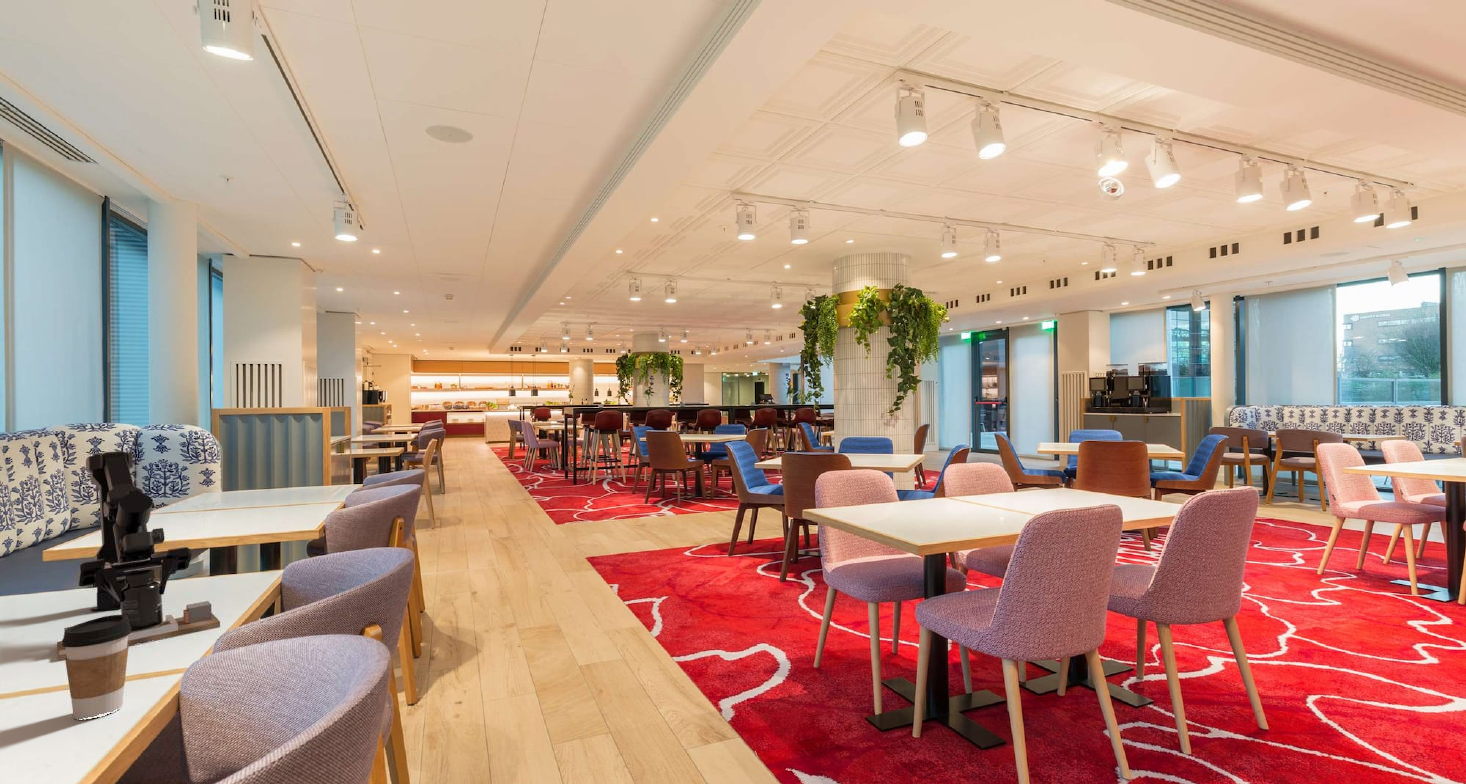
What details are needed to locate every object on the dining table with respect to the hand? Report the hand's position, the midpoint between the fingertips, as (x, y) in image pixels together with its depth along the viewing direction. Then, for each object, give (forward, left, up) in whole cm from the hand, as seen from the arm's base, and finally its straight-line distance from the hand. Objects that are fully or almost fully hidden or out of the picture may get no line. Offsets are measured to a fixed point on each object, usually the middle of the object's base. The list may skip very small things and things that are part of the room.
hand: (142, 597), depth 147 cm
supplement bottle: (-1, -1, -7) cm, 7 cm away
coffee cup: (+39, +18, -9) cm, 44 cm away
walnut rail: (-1, -1, -9) cm, 9 cm away
